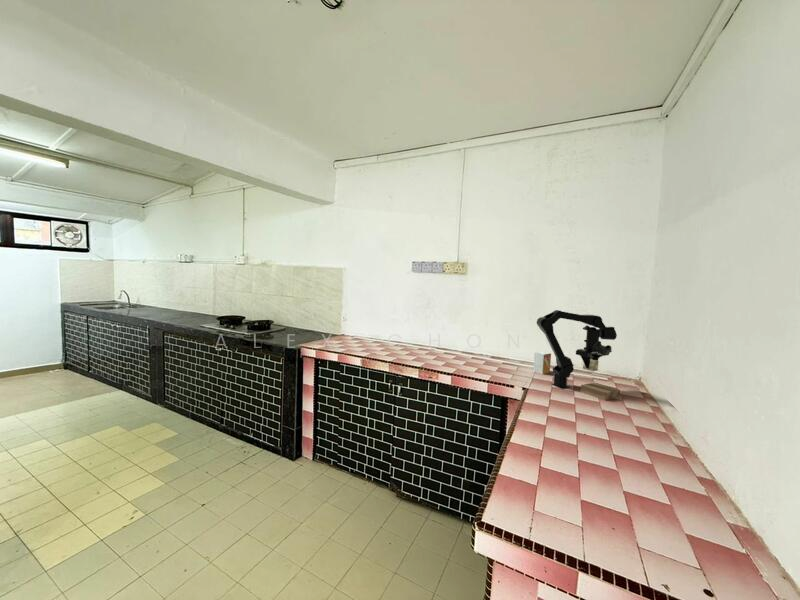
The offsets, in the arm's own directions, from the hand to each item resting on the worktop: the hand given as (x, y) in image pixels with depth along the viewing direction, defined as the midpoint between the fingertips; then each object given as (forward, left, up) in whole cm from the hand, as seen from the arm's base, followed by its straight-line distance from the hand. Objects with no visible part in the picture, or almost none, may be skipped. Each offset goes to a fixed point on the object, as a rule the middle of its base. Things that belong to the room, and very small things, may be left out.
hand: (590, 367), depth 162 cm
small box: (-3, +28, -11) cm, 30 cm away
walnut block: (-4, -8, -11) cm, 15 cm away
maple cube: (0, 0, -1) cm, 1 cm away
